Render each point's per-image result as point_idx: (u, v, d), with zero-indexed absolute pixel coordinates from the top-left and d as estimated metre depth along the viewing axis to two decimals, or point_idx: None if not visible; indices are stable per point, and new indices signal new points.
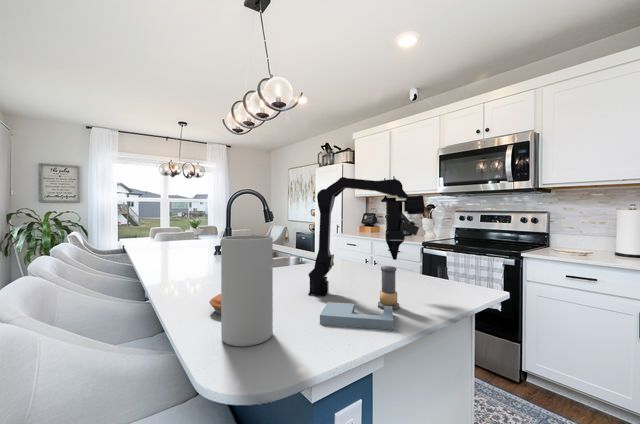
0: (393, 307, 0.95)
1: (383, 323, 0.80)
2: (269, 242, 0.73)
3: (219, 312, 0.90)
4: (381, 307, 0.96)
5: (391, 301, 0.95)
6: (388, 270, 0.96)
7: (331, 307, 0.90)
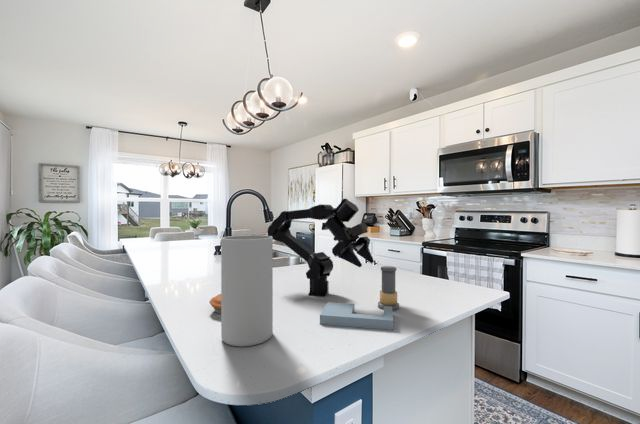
0: (393, 307, 0.95)
1: (383, 323, 0.80)
2: (269, 242, 0.73)
3: (219, 312, 0.90)
4: (381, 307, 0.96)
5: (391, 301, 0.95)
6: (388, 270, 0.96)
7: (331, 307, 0.90)
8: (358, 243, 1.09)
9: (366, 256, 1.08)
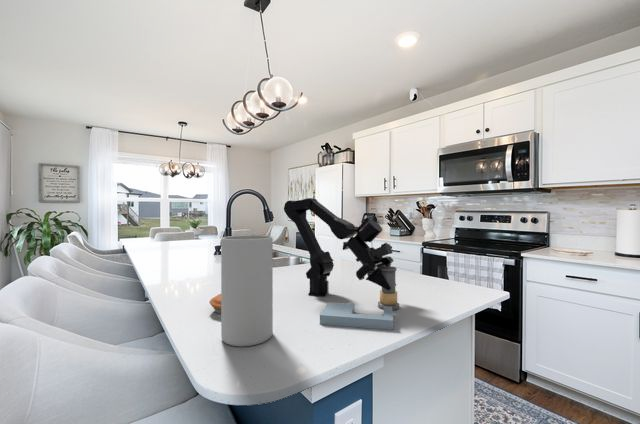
0: (393, 307, 0.95)
1: (383, 323, 0.80)
2: (269, 242, 0.73)
3: (219, 312, 0.90)
4: (381, 307, 0.96)
5: (391, 301, 0.95)
6: (388, 270, 0.96)
7: (331, 307, 0.90)
8: (381, 264, 1.04)
9: None
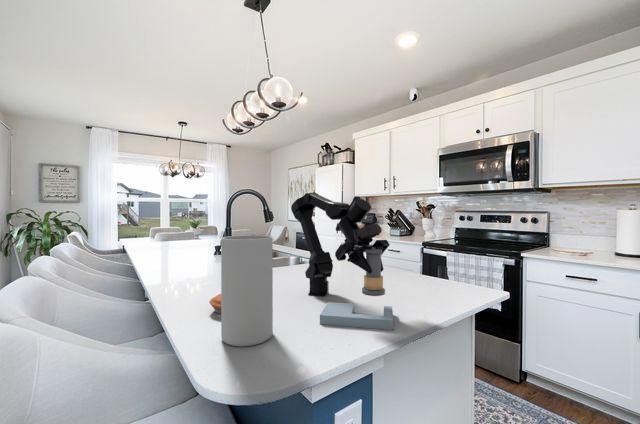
0: (374, 292, 0.87)
1: (383, 323, 0.80)
2: (269, 242, 0.73)
3: (219, 312, 0.90)
4: (363, 291, 0.89)
5: (372, 286, 0.87)
6: (370, 252, 0.88)
7: (331, 307, 0.90)
8: (373, 247, 0.96)
9: None
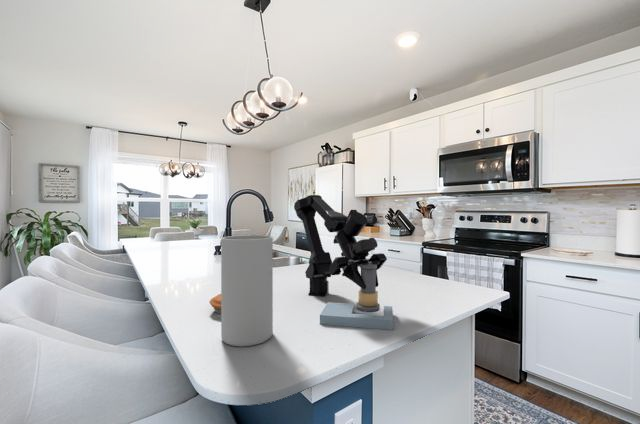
0: (367, 308, 0.85)
1: (383, 323, 0.80)
2: (269, 242, 0.73)
3: (219, 312, 0.90)
4: (357, 307, 0.88)
5: (366, 302, 0.86)
6: (364, 267, 0.87)
7: (331, 307, 0.90)
8: None
9: None
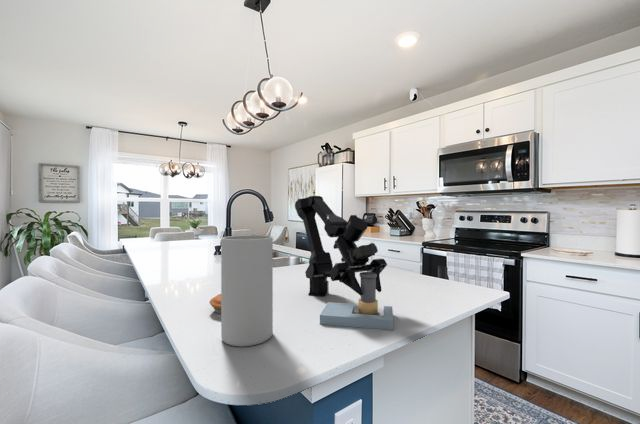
0: None
1: (383, 323, 0.80)
2: (269, 242, 0.73)
3: (219, 312, 0.90)
4: None
5: (366, 311, 0.86)
6: (363, 276, 0.87)
7: (331, 307, 0.90)
8: (370, 266, 0.95)
9: None
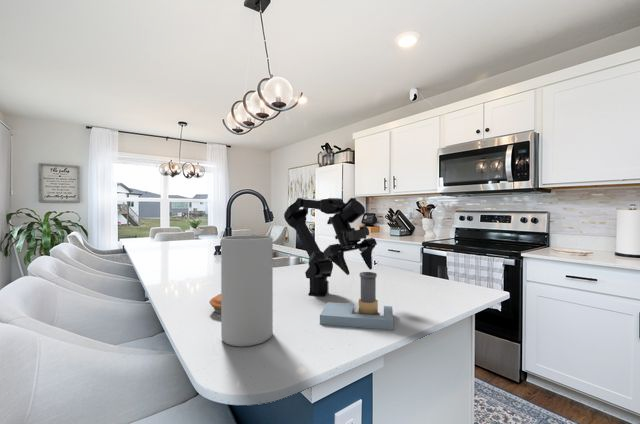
0: None
1: (383, 323, 0.80)
2: (269, 242, 0.73)
3: (219, 312, 0.90)
4: None
5: (366, 311, 0.86)
6: (363, 276, 0.87)
7: (331, 307, 0.90)
8: (361, 245, 1.03)
9: (366, 261, 1.01)
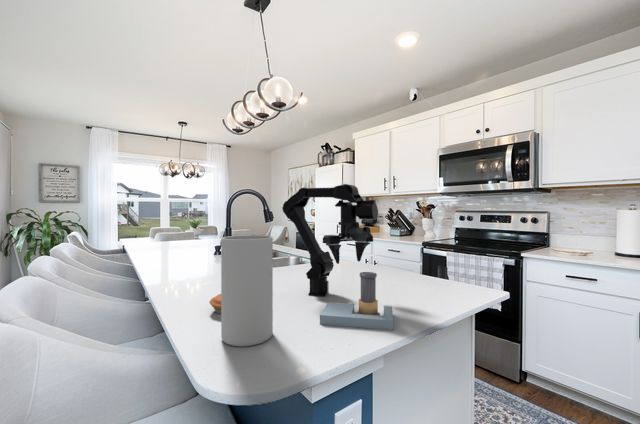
0: None
1: (383, 323, 0.80)
2: (269, 242, 0.73)
3: (219, 312, 0.90)
4: None
5: (366, 311, 0.86)
6: (363, 276, 0.87)
7: (331, 307, 0.90)
8: None
9: (358, 252, 1.11)
